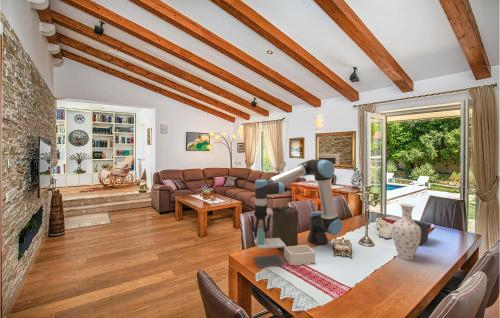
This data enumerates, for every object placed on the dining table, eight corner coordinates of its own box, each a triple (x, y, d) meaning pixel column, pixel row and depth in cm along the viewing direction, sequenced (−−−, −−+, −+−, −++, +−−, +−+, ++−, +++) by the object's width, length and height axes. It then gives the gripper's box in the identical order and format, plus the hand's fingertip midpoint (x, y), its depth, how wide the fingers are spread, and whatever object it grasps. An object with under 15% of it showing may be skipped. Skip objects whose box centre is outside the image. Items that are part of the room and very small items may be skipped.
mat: (279, 255, 161) (279, 254, 161) (286, 265, 147) (286, 264, 147) (253, 257, 157) (253, 257, 157) (258, 267, 144) (258, 267, 144)
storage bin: (413, 236, 199) (413, 219, 198) (435, 242, 186) (436, 224, 185) (400, 242, 187) (401, 223, 186) (423, 248, 174) (424, 229, 174)
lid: (279, 239, 160) (279, 225, 160) (285, 246, 147) (286, 232, 147) (254, 240, 157) (254, 227, 156) (258, 248, 144) (259, 233, 144)
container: (298, 253, 165) (299, 209, 164) (286, 255, 161) (286, 211, 160) (282, 241, 186) (282, 202, 185) (270, 243, 182) (271, 203, 181)
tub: (306, 255, 162) (306, 244, 161) (315, 263, 150) (315, 252, 150) (283, 257, 159) (284, 246, 158) (290, 265, 147) (290, 254, 147)
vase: (395, 250, 171) (396, 201, 170) (422, 257, 159) (424, 205, 158) (388, 257, 160) (389, 204, 158) (417, 265, 148) (419, 209, 147)
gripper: (271, 203, 155) (271, 239, 156) (246, 203, 152) (246, 240, 153) (275, 205, 148) (274, 243, 149) (248, 206, 145) (248, 245, 145)
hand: (260, 241), depth 151 cm, fingers closed on lid, 3 cm apart
